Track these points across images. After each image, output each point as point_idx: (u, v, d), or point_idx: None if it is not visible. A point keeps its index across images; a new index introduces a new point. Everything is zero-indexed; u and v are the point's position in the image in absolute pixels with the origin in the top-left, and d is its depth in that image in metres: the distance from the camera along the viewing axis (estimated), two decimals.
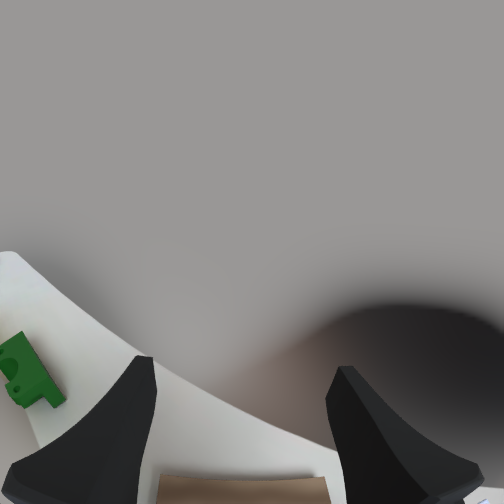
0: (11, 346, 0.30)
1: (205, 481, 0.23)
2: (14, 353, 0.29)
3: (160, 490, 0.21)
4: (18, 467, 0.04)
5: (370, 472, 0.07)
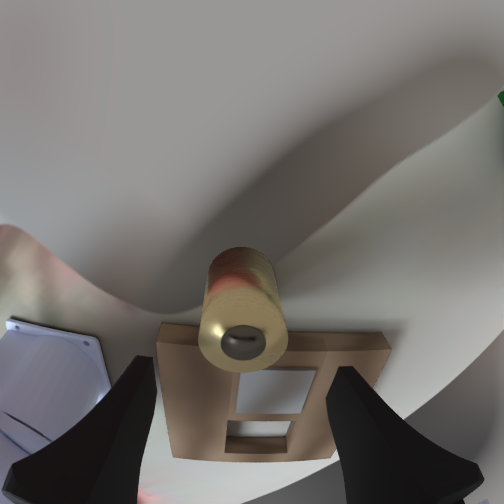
0: None
1: None
2: None
3: (367, 353, 0.20)
4: (18, 467, 0.04)
5: (370, 472, 0.07)
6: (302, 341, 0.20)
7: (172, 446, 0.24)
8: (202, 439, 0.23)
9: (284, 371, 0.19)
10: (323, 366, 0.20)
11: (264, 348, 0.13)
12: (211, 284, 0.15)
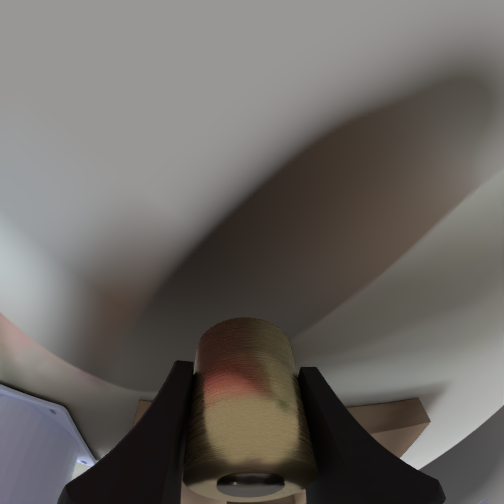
0: None
1: None
2: None
3: (402, 430, 0.13)
4: (73, 489, 0.04)
5: (325, 479, 0.07)
6: None
7: None
8: None
9: None
10: None
11: (281, 488, 0.07)
12: (199, 389, 0.09)
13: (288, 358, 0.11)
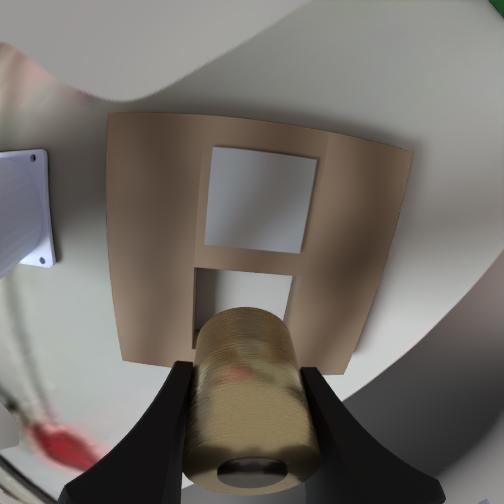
0: None
1: (392, 225, 0.16)
2: None
3: (383, 148, 0.14)
4: (73, 489, 0.04)
5: (325, 479, 0.07)
6: None
7: (120, 334, 0.18)
8: (159, 315, 0.18)
9: (272, 156, 0.14)
10: (326, 159, 0.15)
11: (285, 475, 0.07)
12: (198, 377, 0.09)
13: (287, 344, 0.11)
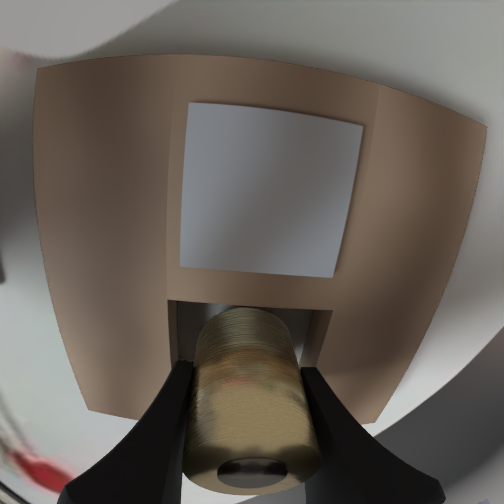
0: None
1: (460, 232, 0.10)
2: None
3: (452, 117, 0.08)
4: (73, 489, 0.04)
5: (325, 479, 0.07)
6: None
7: (79, 381, 0.12)
8: (124, 362, 0.12)
9: (291, 117, 0.08)
10: (375, 127, 0.08)
11: (285, 476, 0.07)
12: (198, 377, 0.09)
13: (287, 345, 0.11)
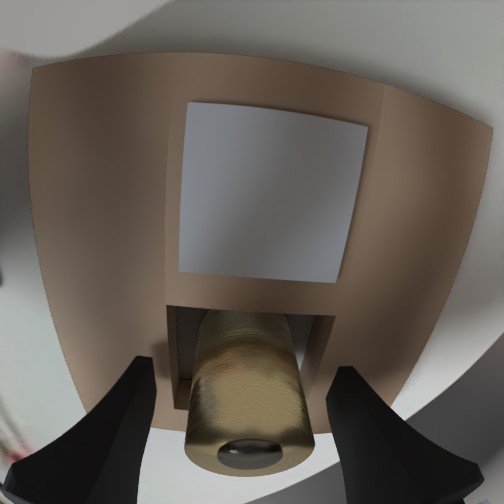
0: None
1: (465, 235, 0.10)
2: None
3: (458, 118, 0.08)
4: (18, 467, 0.04)
5: (370, 472, 0.07)
6: None
7: (77, 386, 0.12)
8: (123, 368, 0.11)
9: (294, 118, 0.08)
10: (381, 128, 0.08)
11: (280, 458, 0.08)
12: (200, 364, 0.10)
13: (284, 333, 0.12)
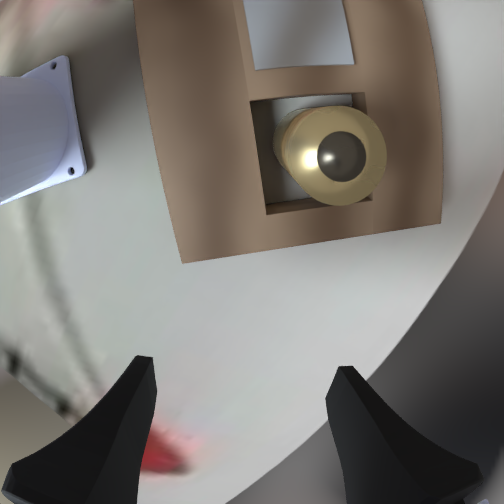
0: None
1: (426, 37, 0.12)
2: None
3: None
4: (18, 467, 0.04)
5: (370, 472, 0.07)
6: None
7: (174, 221, 0.16)
8: (219, 175, 0.15)
9: None
10: None
11: (365, 158, 0.11)
12: (283, 130, 0.13)
13: None
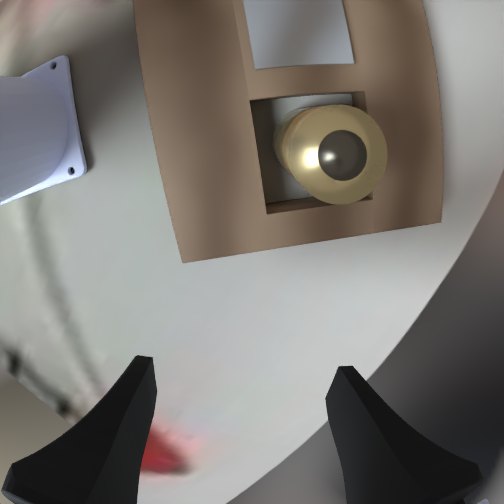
0: None
1: (426, 36, 0.12)
2: None
3: None
4: (18, 467, 0.04)
5: (370, 472, 0.07)
6: None
7: (174, 221, 0.16)
8: (219, 174, 0.15)
9: None
10: None
11: (366, 157, 0.11)
12: (284, 129, 0.13)
13: None
